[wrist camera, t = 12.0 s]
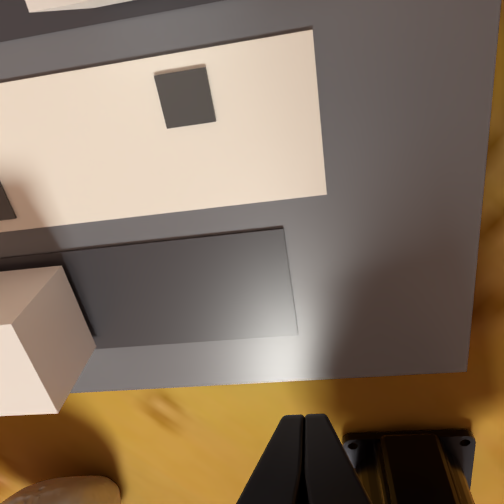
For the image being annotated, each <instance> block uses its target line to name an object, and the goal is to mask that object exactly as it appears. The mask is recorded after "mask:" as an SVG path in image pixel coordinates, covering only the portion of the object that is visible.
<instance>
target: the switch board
mask: <svg viewBox="0 0 504 504" xmlns="http://www.w3.org/2000/svg"><path fill="white" fill-rule="evenodd" d="M500 9H501V0H133V1H127V2H122V3H117V4H112V5H107V6H102V7H96V8H87V9H73V10H59V11H44V12H30V13H29V10H28V7H27V4H26V2H25V0H0V272H2V271H12V270H22V269H32V268H41V267H51V266H61V265H62V267H63V269H64V272H65V274H66V277H67V279H68V281H69V284H70V286H71V288H72V291H73V293H74V295H75V298H76V300H77V302H78V305H79V307H80V309H81V312H82V314H83V317H84V319H85V321H86V324H87V326H88V328H89V331H90V333H91V335H92V338H93V340H94V342H95V345H96V348H95V349H94V351H93V353H92V355H91V356H90V358H89V360H88V362H87V363H86V365H85V367H84V369H83V370H82V372H81V374H80V376H79V378H78V379H77V381H76V383H75V385H74V386H73V388H72V390H71V392H70V393H81V392H100V391H118V390H137V389H155V388H174V387H193V386H211V385H230V384H248V383H267V382H285V381H304V380H322V379H341V378H360V377H378V376H397V375H415V374H434V373H452V372H467V365H468V354H469V343H470V333H471V322H472V311H473V300H474V290H475V279H476V268H477V257H478V246H479V236H480V225H481V214H482V203H483V193H484V182H485V171H486V160H487V149H488V139H489V128H490V117H491V106H492V96H493V85H494V74H495V63H496V52H497V42H498V31H499V20H500Z"/></svg>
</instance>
